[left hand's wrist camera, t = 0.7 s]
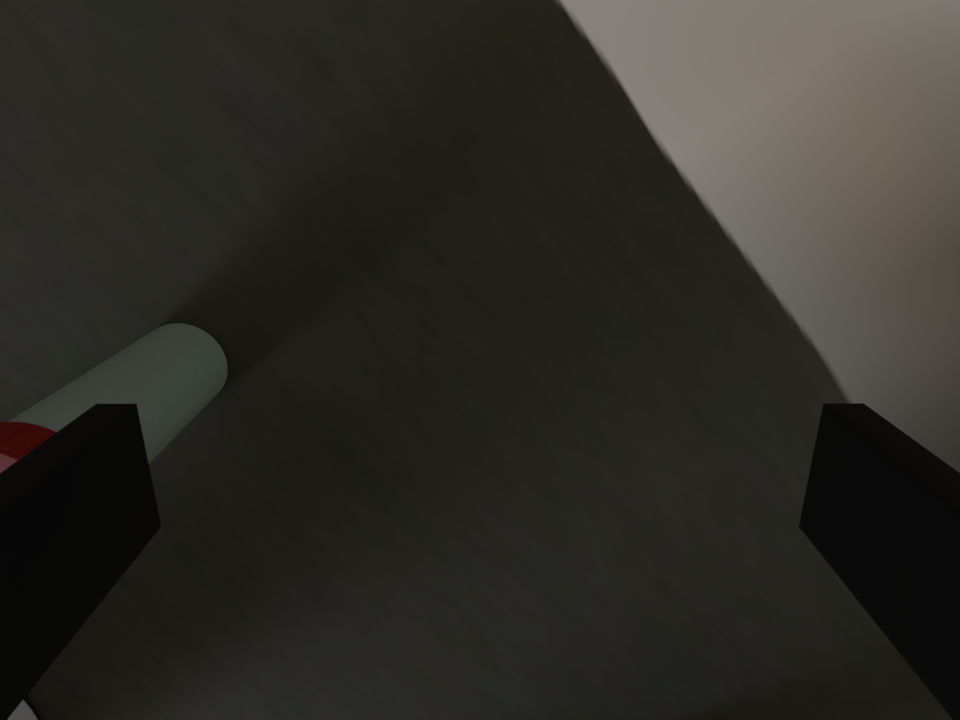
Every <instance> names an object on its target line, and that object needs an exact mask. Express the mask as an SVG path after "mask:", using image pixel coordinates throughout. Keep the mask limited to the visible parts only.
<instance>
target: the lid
mask: <svg viewBox="0 0 960 720" xmlns="http://www.w3.org/2000/svg"><path fill="white" fill-rule="evenodd" d="M55 433H57V432H55V431H53V430H51V429H48V428H45V427H42V426H39V425H35V424H31V423H23V422H5V423H4V422H0V473H1V472H3V471H4V470H5V469H7V468H8V467H10V466H11V465H12V464H14V463H15V462H16V461H18V460H19V459H21V458H22V457H23V456H25V455H26V454H28V453H29V452H30V451H32V450H33V449H34V448H36V447H37V446H39V445H40V444H41V443H43V442H44V441H45V440H47V439H48V438H50V437H51V436H52V435H54V434H55Z"/></svg>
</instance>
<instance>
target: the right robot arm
mask: <svg viewBox="0 0 960 720" xmlns="http://www.w3.org/2000/svg"><path fill="white" fill-rule="evenodd" d="M7 720H38V719H37V717H36V716H35V714H34V712H33V711H32V709H31V708H30V707H29V705H28V704H27V703H26V702H25V701H24V700H22V702H21V703H20V704H19V705H18V707H17V708H16V709H15V710H14V712H13V713H12V714H11V715H10V717H9V718H8V719H7Z"/></svg>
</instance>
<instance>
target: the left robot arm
mask: <svg viewBox="0 0 960 720" xmlns="http://www.w3.org/2000/svg"><path fill="white" fill-rule="evenodd" d="M160 527H161V523H160V518H159V513H158V508H157V503H156V498H155V493H154V488H153V483H152V478H151V473H150V468H149V464H148V459H147V454H146V449H145V444H144V439H143V434H142V429H141V424H140V419H139V414H138V409H137V404H95V405H94V406H92V407H91V408H90V409H88V410H87V411H86V412H84V413H83V414H81V415H80V416H79V417H77V418H76V419H75V420H73V421H72V422H70V423H69V424H68V425H66V426H65V427H63V428H62V429H61V430H59V431H58V432H57V433H55V434H54V435H52V436H51V437H50V438H48V439H47V440H45V441H44V442H43V443H41V444H40V445H39V446H37V447H36V448H34V449H33V450H32V451H30V452H29V453H28V454H26V455H25V456H23V457H22V458H21V459H19V460H18V461H16V462H15V463H14V464H12V465H11V466H10V467H8V468H7V469H5V470H4V471H3V472H1V473H0V720H7V719H8V718H9V717H10V715H11V714H12V713H13V712H14V710H15V709H16V708H17V707H18V705H19V704H20V703H21V702H22V700H23V699H24V698H25V697H26V695H27V694H28V693H29V692H30V690H31V689H32V688H33V687H34V685H35V684H36V683H37V682H38V680H39V679H40V678H41V677H42V675H43V674H44V673H45V672H46V670H47V669H48V668H49V666H50V665H51V664H52V663H53V661H54V660H55V659H56V658H57V656H58V655H59V654H60V653H61V651H62V650H63V649H64V648H65V646H66V645H67V644H68V643H69V641H70V640H71V639H72V638H73V636H74V635H75V634H76V633H77V631H78V630H79V629H80V628H81V626H82V625H83V624H84V623H85V621H86V620H87V619H88V618H89V616H90V615H91V614H92V612H93V611H94V610H95V609H96V607H97V606H98V605H99V604H100V602H101V601H102V600H103V599H104V597H105V596H106V595H107V594H108V592H109V591H110V590H111V589H112V587H113V586H114V585H115V584H116V582H117V581H118V580H119V579H120V577H121V576H122V575H123V574H124V572H125V571H126V570H127V569H128V567H129V566H130V565H131V564H132V562H133V561H134V560H135V559H136V557H137V556H138V555H139V553H140V552H141V551H142V550H143V548H144V547H145V546H146V545H147V543H148V542H149V541H150V540H151V538H152V537H153V536H154V535H155V533H156V532H157V531H158V530H159V528H160ZM799 527H800V528H801V530H802V531H803V532H804V533H805V535H806V536H807V537H808V538H809V540H810V541H811V542H812V543H813V545H814V546H815V547H816V548H817V550H818V551H819V552H820V553H821V555H822V556H823V557H824V559H825V560H826V561H827V562H828V564H829V565H830V566H831V567H832V569H833V570H834V571H835V572H836V574H837V575H838V576H839V577H840V579H841V580H842V581H843V582H844V584H845V585H846V586H847V587H848V589H849V590H850V591H851V592H852V594H853V595H854V596H855V597H856V599H857V600H858V601H859V602H860V604H861V605H862V606H863V607H864V609H865V610H866V611H867V612H868V614H869V615H870V616H871V618H872V619H873V620H874V621H875V623H876V624H877V625H878V626H879V628H880V629H881V630H882V631H883V633H884V634H885V635H886V636H887V638H888V639H889V640H890V641H891V643H892V644H893V645H894V646H895V648H896V649H897V650H898V651H899V653H900V654H901V655H902V656H903V658H904V659H905V660H906V661H907V663H908V664H909V665H910V666H911V668H912V669H913V670H914V672H915V673H916V674H917V675H918V677H919V678H920V679H921V680H922V682H923V683H924V684H925V685H926V687H927V688H928V689H929V690H930V692H931V693H932V694H933V695H934V697H935V698H936V699H937V700H938V702H939V703H940V704H941V705H942V707H943V708H944V709H945V710H946V712H947V713H948V714H949V715H950V717H951V718H952V719H953V720H960V473H959V472H957V471H956V470H955V469H953V468H952V467H950V466H949V465H948V464H946V463H945V462H944V461H942V460H941V459H939V458H938V457H937V456H935V455H934V454H932V453H931V452H930V451H928V450H927V449H926V448H924V447H923V446H921V445H920V444H919V443H917V442H916V441H915V440H913V439H912V438H910V437H909V436H908V435H906V434H905V433H903V432H902V431H901V430H899V429H898V428H897V427H895V426H894V425H892V424H891V423H890V422H888V421H887V420H885V419H884V418H883V417H881V416H880V415H879V414H877V413H876V412H874V411H873V410H872V409H870V408H869V407H868V406H866V405H865V404H823V409H822V414H821V419H820V424H819V429H818V434H817V439H816V444H815V449H814V454H813V459H812V463H811V468H810V473H809V478H808V483H807V488H806V493H805V498H804V503H803V508H802V513H801V518H800V523H799Z"/></svg>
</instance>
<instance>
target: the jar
mask: <svg viewBox="0 0 960 720" xmlns="http://www.w3.org/2000/svg"><path fill="white" fill-rule="evenodd" d="M227 373H228V366H227V360H226V357H225V354H224V352H223V350H222V348H221V347H220V345H219V344H218V343H217V341H216V340H215V339H214V338H213V337H212V336H210V335H209V334H208V333H207V332H205V331H204V330H202V329H200V328H198V327H195V326H192V325H188V324H183V323H172V324H167V325H163V326H161V327H159V328H157V329H155V330H154V331H152V332H151V333H149V334H147V335H146V336H144V337H143V338H141V339H139V340H138V341H136V342H135V343H133V344H131V345H130V346H128V347H127V348H125V349H123V350H122V351H120V352H119V353H117V354H115V355H114V356H112V357H111V358H109V359H107V360H106V361H104V362H103V363H101V364H99V365H98V366H96V367H95V368H93V369H91V370H90V371H88V372H87V373H85V374H84V375H82V376H80V377H79V378H77V379H76V380H74V381H72V382H71V383H69V384H68V385H66V386H64V387H63V388H61V389H60V390H58V391H56V392H55V393H53V394H52V395H50V396H48V397H47V398H45V399H44V400H42V401H40V402H39V403H37V404H36V405H34V406H32V407H31V408H29V409H28V410H26V411H24V412H23V413H21V414H20V415H18V416H16V417H15V418H13V419H12V420H10V421H9V422H23V423H31V424H35V425H39V426H42V427H45V428H48V429H51V430H53V431H55V432H58V431H59V430H61V429H62V428H63V427H65V426H66V425H68V424H69V423H70V422H72V421H73V420H75V419H76V418H77V417H79V416H80V415H81V414H83V413H84V412H86V411H87V410H88V409H90V408H91V407H92V406H94V405H95V404H137V409H138V414H139V419H140V424H141V429H142V434H143V439H144V444H145V449H146V454H147V459H148V464H149V463H150V462H151V461H152V460H153V459H154V458H155V457H156V456H157V455H158V454H159V453H160V452H161V451H162V450H163V449H164V448H165V447H166V446H167V445H168V444H169V443H170V442H171V441H172V440H173V439H174V438H175V437H176V436H177V435H178V434H179V433H180V432H181V431H182V430H183V429H184V428H185V427H186V426H187V425H188V424H189V422H190V421H191V420H192V419H193V418H194V417H195V416H196V415H197V414H198V413H199V412H200V411H201V410H202V409H203V408H204V407H205V406H206V405H207V404H208V403H209V402H210V401H211V400H212V399H213V398H214V397H215V396H216V395H217V394H218V393H219V392H220V391H221V389H222V388H223V386H224V384H225V382H226V379H227Z"/></svg>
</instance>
